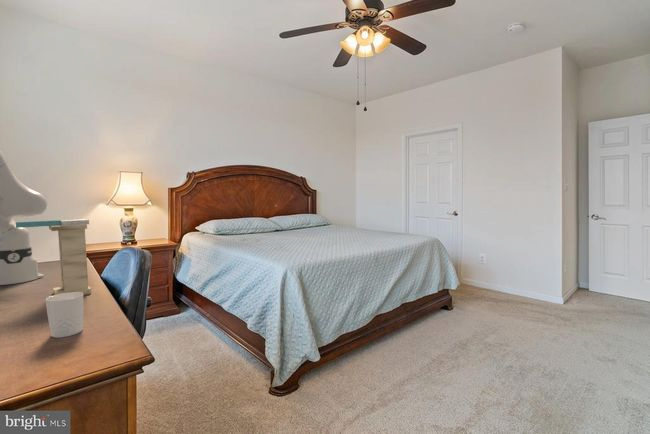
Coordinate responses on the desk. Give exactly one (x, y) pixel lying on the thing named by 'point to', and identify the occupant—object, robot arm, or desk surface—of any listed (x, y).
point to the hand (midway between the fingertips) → (15, 229)
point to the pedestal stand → (72, 259)
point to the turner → (52, 223)
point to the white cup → (65, 314)
